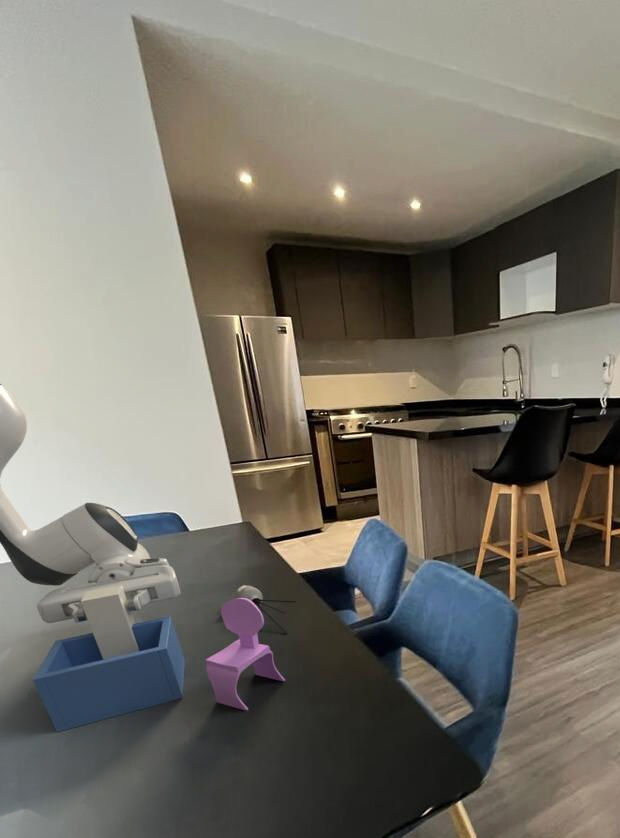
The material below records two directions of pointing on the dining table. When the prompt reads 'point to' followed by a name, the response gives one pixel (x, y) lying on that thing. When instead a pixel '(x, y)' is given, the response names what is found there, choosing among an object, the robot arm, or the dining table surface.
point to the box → (110, 676)
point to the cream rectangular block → (110, 621)
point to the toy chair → (240, 652)
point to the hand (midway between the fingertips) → (106, 612)
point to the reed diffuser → (256, 599)
